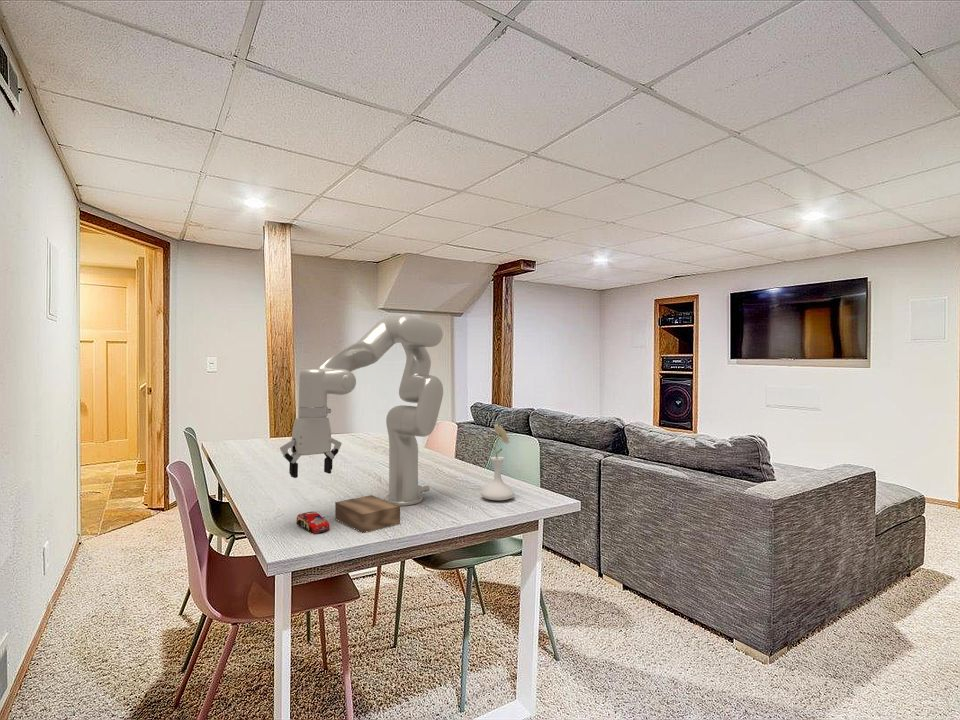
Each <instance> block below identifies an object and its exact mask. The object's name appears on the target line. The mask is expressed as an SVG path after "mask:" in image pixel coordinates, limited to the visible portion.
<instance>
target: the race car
mask: <svg viewBox="0 0 960 720" xmlns="http://www.w3.org/2000/svg"><path fill="white" fill-rule="evenodd" d="M296 516H297V517H296V524H297V526H298V525H299V526H300V527H299V526H298V527H299V528H303V529H304V530H306V531H307V532H309V533H310V532H311V533H313V534H318V533H323V532H328V531H329V530H330V529H331V525H330V522H328V521H327V520H326V519H325V518H326V516H322V515H321V514H320V513H319V512H317V511H307V512H302V513H299V514H298V515H296ZM311 533H310V534H311Z"/></svg>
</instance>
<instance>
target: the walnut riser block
mask: <svg viewBox="0 0 960 720" xmlns="http://www.w3.org/2000/svg"><path fill="white" fill-rule="evenodd" d="M334 503H335V505H334V506H335V507H334V508H335V510H334V512H335V513H334V516H335V518H334V519H335V520H336V519H337V520H336V521H338V520H339V521H338V522H340V521H341V522H340V523H342V522H343V523H342V524H344V525H346V526H348V527H350V528H352V529H354V528H355V529H354V530H356V529H357V530H359V531H360V533H361V532H362V534H364V533H367V532H366V531H368V532H372V531H376V530H375V529H377V530H379V529H380V528H381V529H383V527H385V528H388V527H387V526H389V527H392V526H391V525H393V526H396V525H395V524H397V525H400V524H401V506H399V505H396V504H393V503H391V502H388V501H386V500H384V498H383V499H382V498H380V497H378V496H375V495H372V494H370V495H367V496H360V497H355V498H349V499H345V500H340V501H335V502H334ZM357 530H356V531H357ZM371 530H372V531H371ZM359 531H358V532H359ZM363 532H364V533H363Z"/></svg>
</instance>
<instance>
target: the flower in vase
mask: <svg viewBox="0 0 960 720" xmlns="http://www.w3.org/2000/svg"><path fill="white" fill-rule="evenodd" d="M493 428H494V430H495V434H497V439H496V441H495V444H494V445H492V446H493V449H492V450H493V451H495V452H494V453H495V456H491V457H490V460H491V462H492V464H493V471H494V473H493V474H494V475H493V476H494V477H493V479H492V481H491V482H490V483H488V484H487V485H486V486H485V487H484V488H482V490H481V492H480V495H481V497H482V498H484V499H486V500H490V501H506V500H509V499H511V498H512V499H513V498H514V496H515V491H514V490H513V489H512V488H511V487H510V486H509V485H508V484H506V483H505V482H504V480H503V479H502V466H503V463H504V461H505V460H506V457H504V456H498V454H499V453H500V452H502V451H503V448H500V449H499V450H498V451H497V443H498V441H499V439H500V440H501V441H502V442H503V443H505V445H506V444H509V443H510V441H509V440H510V438H509V436H508V434H507V433H506V432H507V431H506V430H505V429H504V428H503V427H502V425H501V424H498V423H496V424H495V425H494V427H493Z"/></svg>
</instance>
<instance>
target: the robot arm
mask: <svg viewBox="0 0 960 720" xmlns="http://www.w3.org/2000/svg"><path fill="white" fill-rule="evenodd" d="M443 334H444V333H443V329H442V327H441V325H439V323H438V322H436V321H434V320H430V319H425V318H424V319H423V318H418V317H414V316H409V315H399V316H387V317H384V318H381V319H380V320H379V321H378V322H377V323H376V324H375V325H374V326H373V327H371V328H370V330H368V331H367V332H366V333H365V334H364V335H362V337H361V338H360V339H359V340H357V341H356V342H355V343H353V344H351V345H349V346H348V347H346V348H344V349H342V350H340V351H338V352H336V354H334V355H332V356H330V358H328V359H327V360H325V362H323V363H322V364H321V365H320V366H319V367H318V368H316V369H315V368H308V369H307V368H306V369H302V370H300V372H299V378H298V413H297V414H298V416H297V417H298V418H294V422H293V427H292V433H291V439H290V441H287V443H285V444H283V445H282V446H280V448H279V450H280V452H281V454H282V457H283V458H284V459H285V460H286V461H287V462H289V466H288V467H289V472H288V473H289V475H290V477H291V478H294V479H297V478H298V477H299V473H298V472H299V462H298V460H299V459H300V458H301V456H312V455H321V454H322V455H324V456H325V458H324V460H323V462H324V464H323V465H324V467H323V472H324V473H327V474H332V470H333V460H334V459H335V456H337V455H338V453H339V451H340V448H341V447H342V444H343V443H342V442H341V441H339V440H338V439H337V440H336V439H335V438H333V437H332V432H331V431H332V430H331V423H330V419H329V417H327V416H328V414H331V413H332V409H331V408H329V407H328V395H337V396H338V395H339V396H344V395H347V394H350V393H351V392H353V390H354V389H355V388H356V385H357V379H356V376H355V375H354V373H353V371H355V370H358V369H362V368H366V367H368V366H371V365H373V364H375V363H377V362H378V361H379V360H380V359H381V358H382V357H383V356H384V355H385V354H386V353H387V352H388V351H389V350H390V349H391V348H392V347H393V346H394V345H395V344H397V343H398V344H400V345H401V346H402V348H403V350H404V353H405V357H406V360H405V361H406V362H405V365H404V370H403V373H402V377H401V380H400V384H399V388H398V396H399V399H401V401H403V402H405V403H409V404H410V403H411V404H417V405H416V406H415V405H403V404H401V405H396V406H394V407H392V408H391V409H389V410H388V412H387V415H386V419H385V420H386V421H385V423H386V424H385V425H386V429H387V434H388V444H389V445H388V452H389V453H388V456H389V458H388V459H389V464H388V469H389V470H388V475H389V476H388V477H389V478H388V479H389V480H388V482H389V483H388V495H385V496H384V498H383V500H386V501H388V502H391V503H393V504H396V505H399V506H400V507H401V506H411V505H412V506H413V505H417V504H419V503H421V502H422V501H423V500H424V498H423V497H424V496H423V495H421V494H423V493H426V492H429V491H431V487H430V486H429V485H424V486H422V485H419V446H418V445H419V444H418V441H417V438H416V437H428V436H429V435H431V434H432V433H433V431H434V430H435V428H436V424H437V421H438V417H439V413H440V409H441V406H442V401H443V396H444V387H443V383H442V381H441V379H440V378H438V377H437V376H435V375H432V374H431V375H430V371H431V364H432V361H431V356H430V354H429V351H428V350H427V348H431V347H436V346H438V345H440V343H441V341H442V340H443V336H444V335H443ZM332 444H333V445H334V446H333V448H332ZM289 449H290V451H291V454H290V453H289V451H288V450H289Z"/></svg>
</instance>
